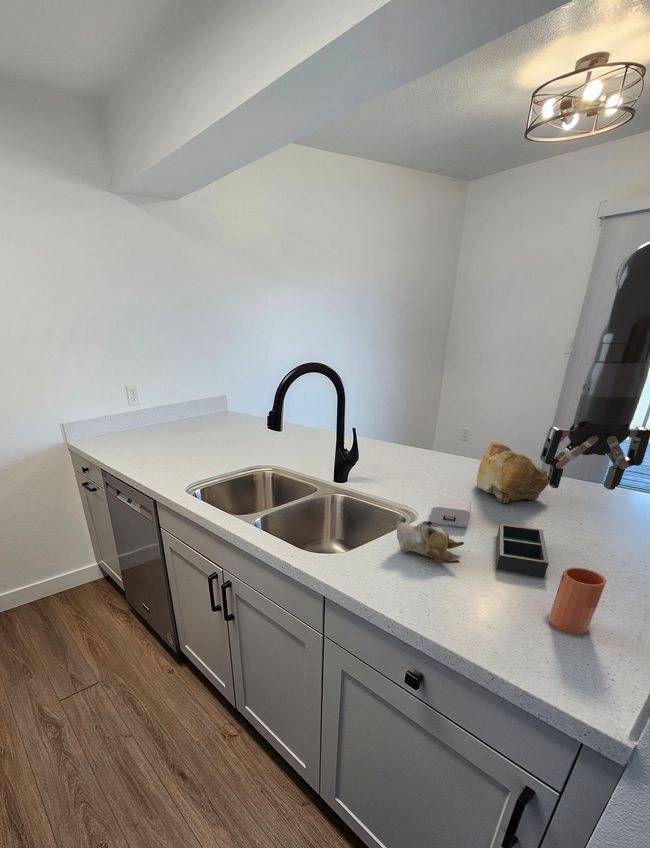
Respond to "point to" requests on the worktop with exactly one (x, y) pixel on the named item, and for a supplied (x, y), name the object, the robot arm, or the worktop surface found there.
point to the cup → (576, 600)
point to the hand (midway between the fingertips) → (580, 487)
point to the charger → (451, 511)
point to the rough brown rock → (510, 475)
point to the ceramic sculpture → (427, 541)
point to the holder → (521, 550)
